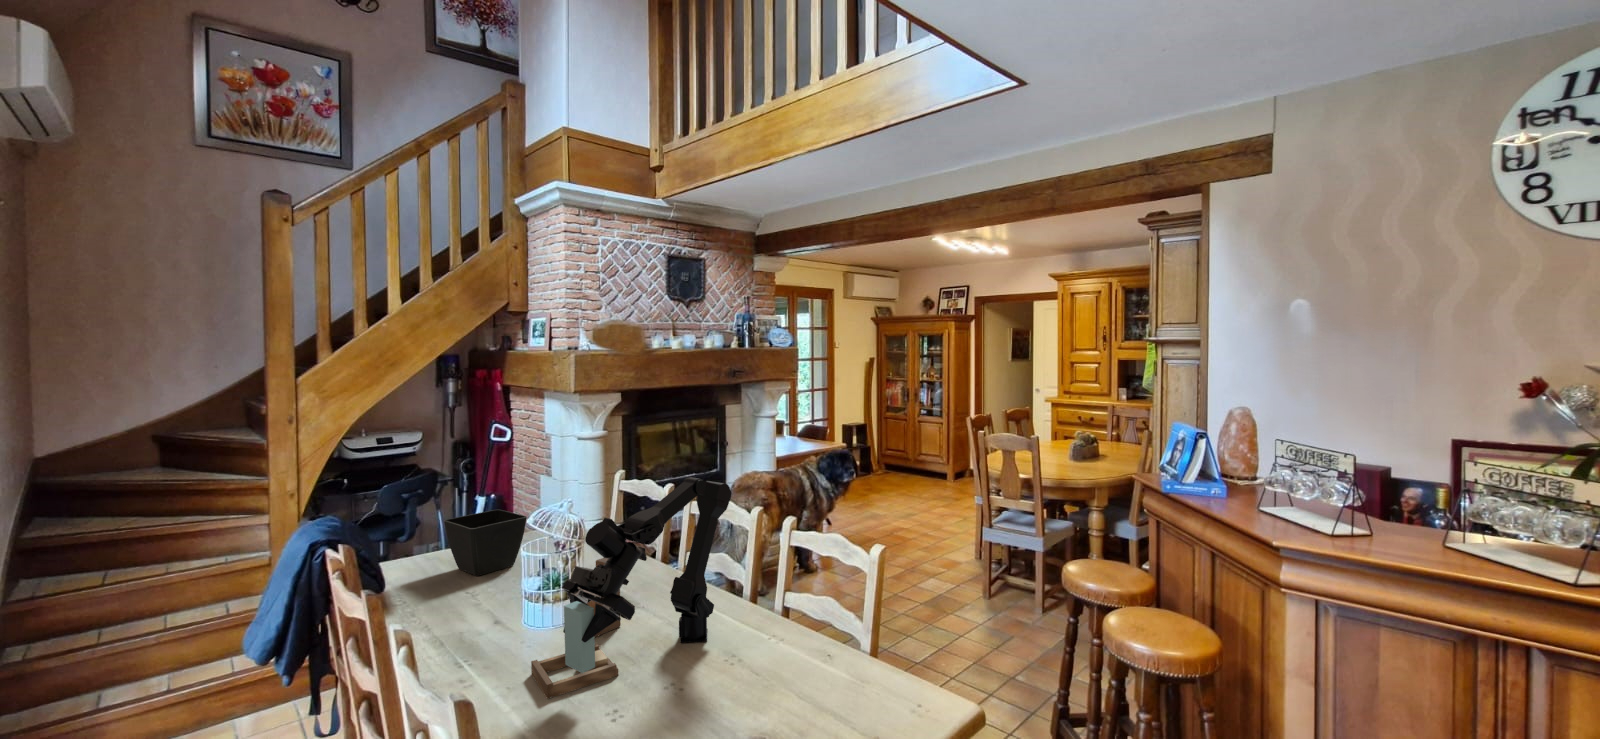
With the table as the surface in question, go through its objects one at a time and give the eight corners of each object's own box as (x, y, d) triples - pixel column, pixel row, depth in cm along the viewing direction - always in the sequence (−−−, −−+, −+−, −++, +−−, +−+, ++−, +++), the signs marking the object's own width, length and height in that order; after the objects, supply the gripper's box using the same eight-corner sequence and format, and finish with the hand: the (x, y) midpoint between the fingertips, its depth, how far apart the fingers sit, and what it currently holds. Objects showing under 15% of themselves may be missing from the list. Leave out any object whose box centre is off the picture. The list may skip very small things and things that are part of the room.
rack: (598, 653, 147) (598, 641, 147) (618, 675, 138) (618, 662, 137) (531, 674, 138) (531, 661, 138) (547, 699, 128) (547, 684, 128)
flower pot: (499, 554, 220) (498, 507, 220) (529, 565, 209) (528, 515, 209) (443, 570, 205) (442, 519, 204) (472, 582, 194) (471, 529, 193)
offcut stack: (599, 661, 144) (599, 648, 144) (609, 672, 139) (609, 657, 139) (577, 669, 141) (577, 654, 141) (586, 680, 136) (586, 665, 136)
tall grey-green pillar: (578, 658, 132) (576, 600, 131) (595, 667, 128) (593, 607, 128) (565, 664, 129) (563, 605, 129) (582, 673, 126) (581, 612, 125)
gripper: (568, 542, 136) (522, 608, 128) (622, 558, 125) (575, 632, 117) (599, 566, 143) (557, 631, 135) (653, 584, 132) (611, 656, 124)
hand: (573, 637), depth 127 cm, fingers closed on tall grey-green pillar, 6 cm apart
